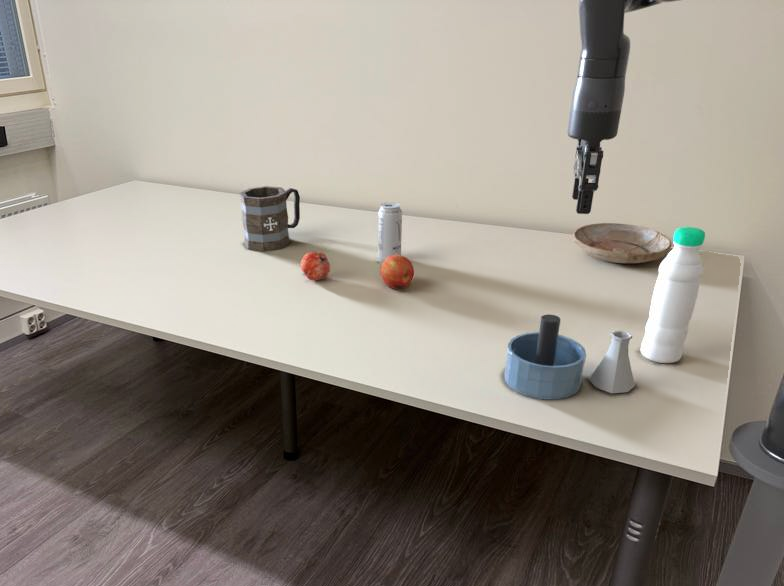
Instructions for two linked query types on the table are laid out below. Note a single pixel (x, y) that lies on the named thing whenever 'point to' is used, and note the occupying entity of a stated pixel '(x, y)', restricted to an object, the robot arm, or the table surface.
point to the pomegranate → (315, 265)
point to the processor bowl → (544, 368)
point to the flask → (615, 366)
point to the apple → (397, 271)
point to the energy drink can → (389, 230)
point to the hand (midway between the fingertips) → (580, 205)
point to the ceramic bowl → (621, 242)
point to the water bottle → (674, 298)
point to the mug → (267, 217)
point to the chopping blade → (547, 340)
